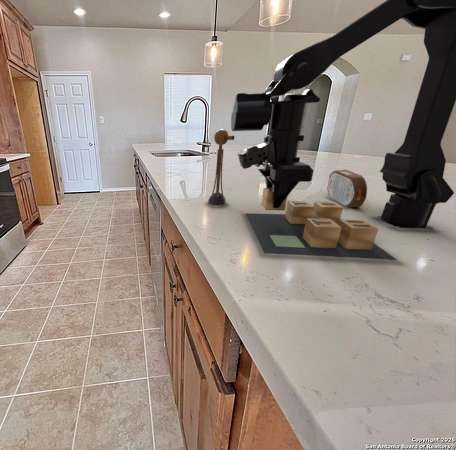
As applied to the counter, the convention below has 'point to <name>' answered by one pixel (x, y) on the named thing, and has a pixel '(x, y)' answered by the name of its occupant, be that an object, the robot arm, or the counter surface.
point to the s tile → (270, 200)
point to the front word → (340, 233)
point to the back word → (312, 211)
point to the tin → (347, 188)
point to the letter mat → (300, 239)
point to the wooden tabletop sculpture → (219, 167)
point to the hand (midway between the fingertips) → (273, 204)
